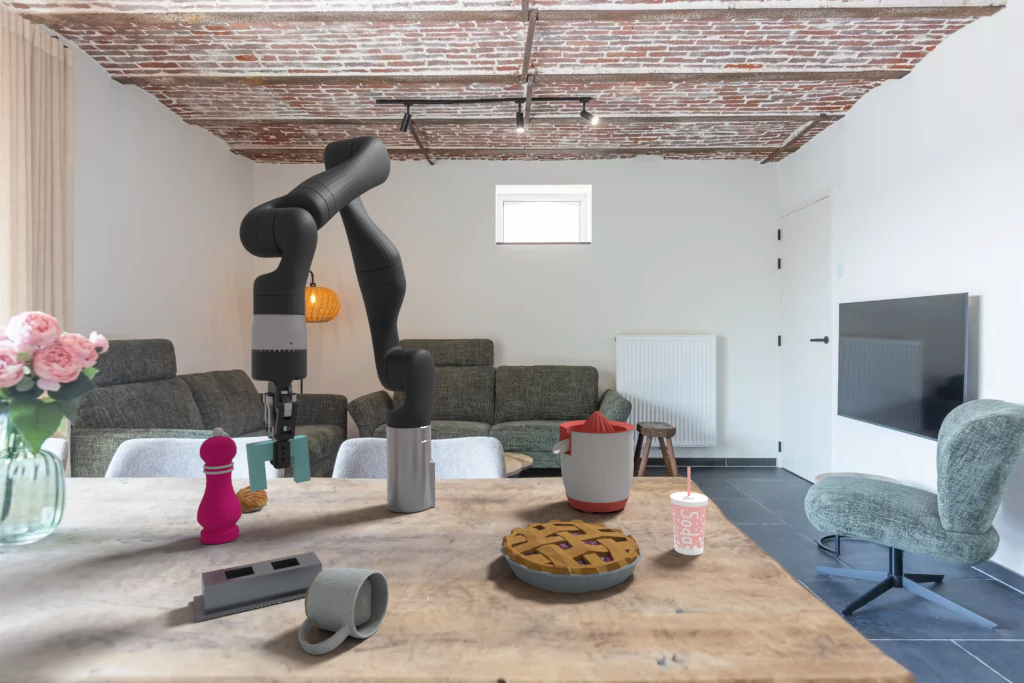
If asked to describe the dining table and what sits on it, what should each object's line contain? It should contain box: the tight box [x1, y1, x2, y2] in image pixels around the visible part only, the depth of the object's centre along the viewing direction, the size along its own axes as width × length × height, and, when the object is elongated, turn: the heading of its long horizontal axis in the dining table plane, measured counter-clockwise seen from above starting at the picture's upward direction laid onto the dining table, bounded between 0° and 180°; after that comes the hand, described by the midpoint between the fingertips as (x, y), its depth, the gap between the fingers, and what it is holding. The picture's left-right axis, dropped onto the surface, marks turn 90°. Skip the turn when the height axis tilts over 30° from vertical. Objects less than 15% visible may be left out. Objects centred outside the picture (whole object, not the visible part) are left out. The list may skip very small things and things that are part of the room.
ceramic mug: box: [297, 566, 390, 656], centre depth 74 cm, size 11×8×8 cm
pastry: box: [235, 485, 269, 513], centre depth 127 cm, size 9×7×4 cm
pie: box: [499, 519, 643, 594], centre depth 94 cm, size 22×22×5 cm
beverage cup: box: [669, 466, 709, 556], centre depth 101 cm, size 6×6×14 cm
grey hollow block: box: [192, 551, 323, 623], centre depth 84 cm, size 17×7×4 cm, turn 121°
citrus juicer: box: [552, 410, 636, 514], centre depth 126 cm, size 16×17×20 cm
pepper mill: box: [196, 426, 243, 545], centre depth 107 cm, size 7×7×20 cm
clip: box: [245, 434, 312, 492], centre depth 87 cm, size 8×2×6 cm, turn 121°
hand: (279, 465), depth 87 cm, fingers closed on clip, 2 cm apart
